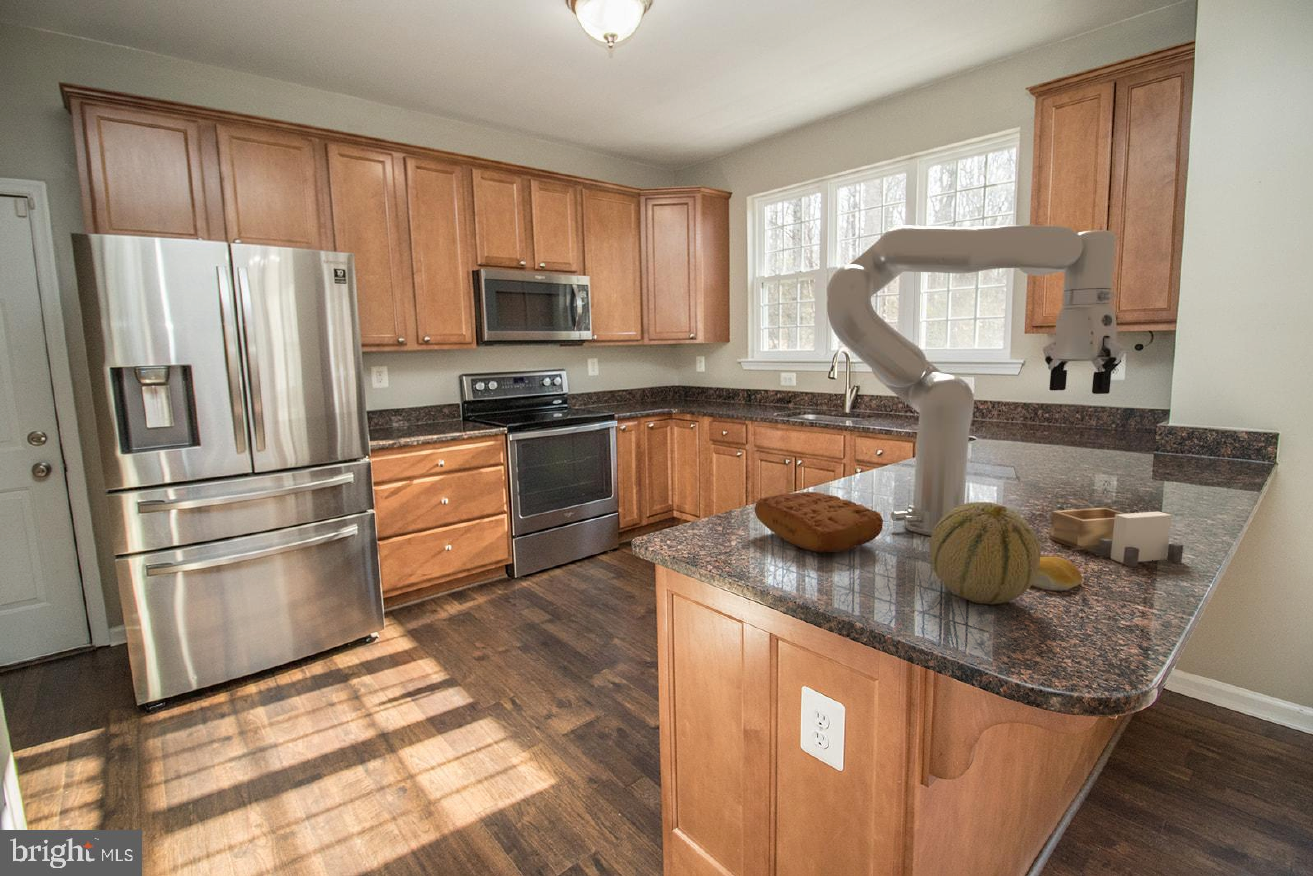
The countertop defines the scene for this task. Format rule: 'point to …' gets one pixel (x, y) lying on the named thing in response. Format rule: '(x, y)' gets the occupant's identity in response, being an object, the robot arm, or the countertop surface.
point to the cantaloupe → (984, 552)
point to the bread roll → (1056, 574)
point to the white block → (1141, 535)
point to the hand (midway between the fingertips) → (1078, 391)
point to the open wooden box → (1097, 533)
